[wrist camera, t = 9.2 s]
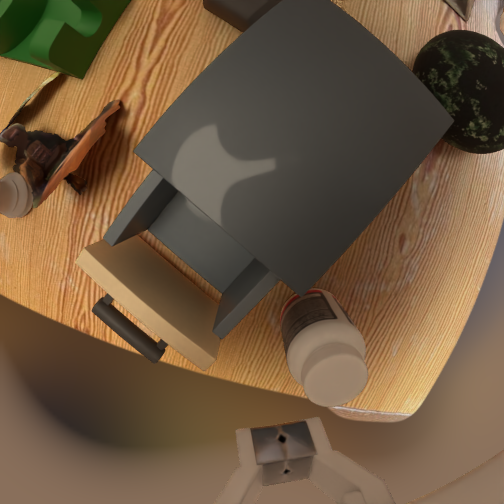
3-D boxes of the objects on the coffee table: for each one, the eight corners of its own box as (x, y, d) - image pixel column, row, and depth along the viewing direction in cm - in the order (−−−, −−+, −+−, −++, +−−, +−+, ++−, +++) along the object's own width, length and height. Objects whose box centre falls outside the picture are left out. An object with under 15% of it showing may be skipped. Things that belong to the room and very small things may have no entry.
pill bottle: (271, 336, 27) (278, 408, 17) (290, 279, 26) (310, 333, 16) (328, 349, 27) (357, 419, 18) (350, 295, 26) (394, 351, 17)
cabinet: (284, 256, 25) (301, 298, 16) (175, 161, 24) (132, 151, 15) (391, 137, 23) (454, 120, 14) (288, 44, 22) (305, -18, 12)
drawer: (187, 351, 26) (167, 406, 19) (97, 274, 25) (48, 307, 17) (323, 206, 24) (354, 217, 16) (222, 116, 22) (208, 87, 15)
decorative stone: (467, 174, 24) (543, 178, 14) (380, 124, 23) (445, 99, 13) (485, 87, 22) (552, 67, 12) (404, 34, 21) (460, -14, 11)
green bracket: (-16, 53, 20) (-50, 41, 14) (22, -12, 19) (-7, -31, 12) (82, 79, 22) (43, 59, 16) (132, -2, 20) (106, -36, 14)
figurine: (44, 101, 26) (-21, 197, 22) (18, 46, 18) (-68, 154, 14) (155, 131, 27) (85, 253, 23) (143, 60, 18) (36, 209, 14)
